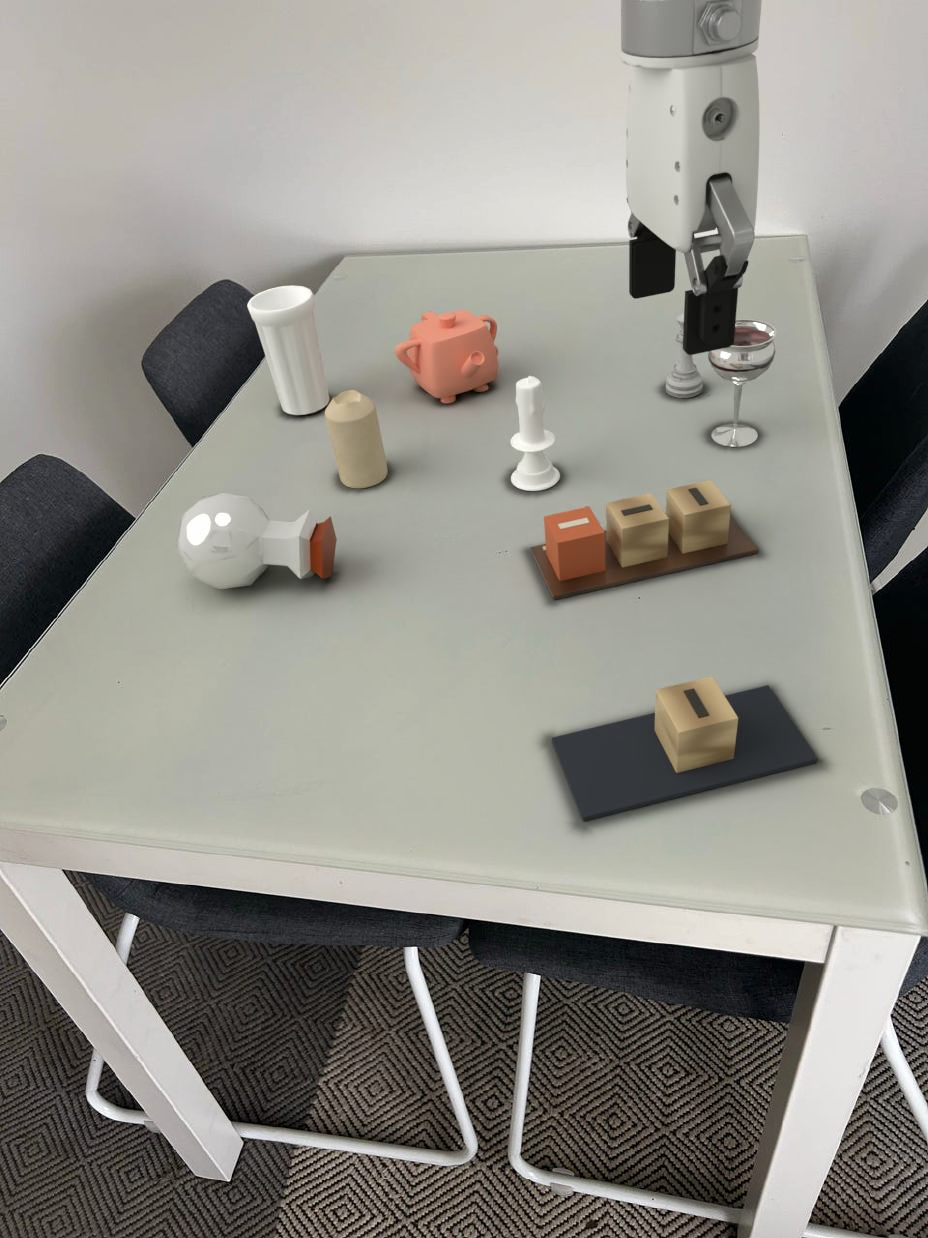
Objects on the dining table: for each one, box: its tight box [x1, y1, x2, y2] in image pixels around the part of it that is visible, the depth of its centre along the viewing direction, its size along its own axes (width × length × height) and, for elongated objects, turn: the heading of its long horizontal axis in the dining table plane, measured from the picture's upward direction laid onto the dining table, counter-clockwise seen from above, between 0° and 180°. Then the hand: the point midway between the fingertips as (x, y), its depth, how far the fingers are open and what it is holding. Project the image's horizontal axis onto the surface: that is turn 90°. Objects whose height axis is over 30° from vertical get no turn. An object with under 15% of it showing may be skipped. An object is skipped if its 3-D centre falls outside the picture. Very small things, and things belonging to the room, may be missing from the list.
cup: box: [246, 284, 330, 416], centre depth 116 cm, size 8×8×14 cm
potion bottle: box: [175, 492, 338, 590], centre depth 91 cm, size 9×10×15 cm
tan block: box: [654, 675, 738, 773], centre depth 69 cm, size 4×4×5 cm
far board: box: [529, 514, 759, 600], centre depth 90 cm, size 20×8×1 cm, turn 102°
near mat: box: [551, 684, 819, 822], centre depth 71 cm, size 18×8×1 cm, turn 102°
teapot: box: [394, 309, 499, 404], centre depth 117 cm, size 12×12×10 cm
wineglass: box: [707, 318, 778, 448], centre depth 100 cm, size 7×7×12 cm
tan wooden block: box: [665, 479, 732, 554], centre depth 89 cm, size 4×4×5 cm
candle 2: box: [510, 375, 561, 492], centre depth 98 cm, size 5×5×12 cm
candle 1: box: [324, 389, 389, 489], centre depth 103 cm, size 6×6×10 cm
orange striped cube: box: [543, 506, 605, 581], centre depth 88 cm, size 4×4×5 cm
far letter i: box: [605, 492, 669, 567], centre depth 88 cm, size 4×4×5 cm
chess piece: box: [665, 313, 704, 399], centre depth 110 cm, size 4×4×10 cm
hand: (678, 319), depth 63 cm, fingers open, 9 cm apart
